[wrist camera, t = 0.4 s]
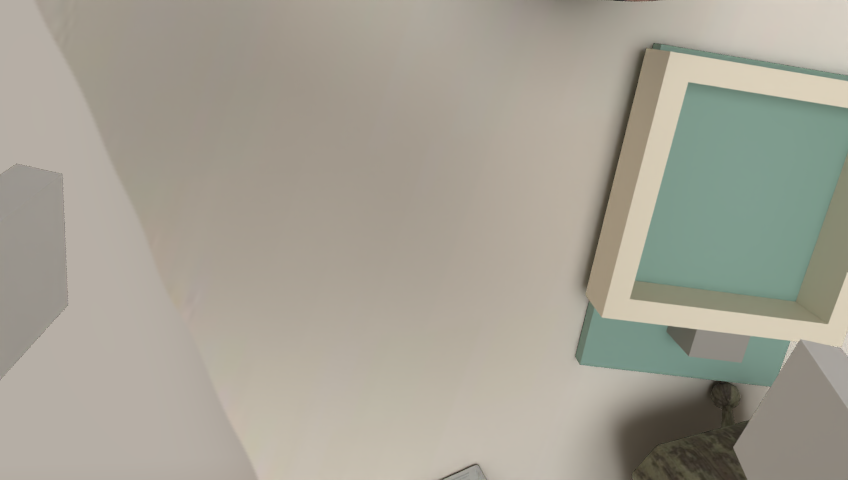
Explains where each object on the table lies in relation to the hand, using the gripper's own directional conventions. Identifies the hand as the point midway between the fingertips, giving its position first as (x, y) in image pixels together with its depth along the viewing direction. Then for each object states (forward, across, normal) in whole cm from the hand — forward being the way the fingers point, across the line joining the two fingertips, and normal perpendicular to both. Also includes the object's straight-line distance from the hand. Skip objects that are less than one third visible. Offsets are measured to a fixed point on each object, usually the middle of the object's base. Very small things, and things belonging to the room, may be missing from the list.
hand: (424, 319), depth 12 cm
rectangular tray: (+25, +17, -7) cm, 31 cm away
